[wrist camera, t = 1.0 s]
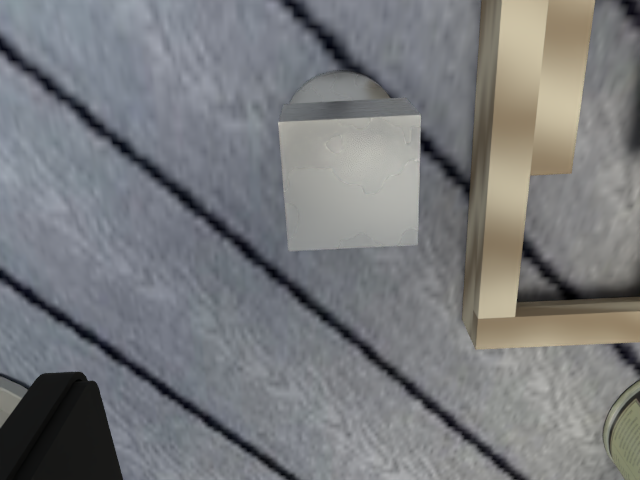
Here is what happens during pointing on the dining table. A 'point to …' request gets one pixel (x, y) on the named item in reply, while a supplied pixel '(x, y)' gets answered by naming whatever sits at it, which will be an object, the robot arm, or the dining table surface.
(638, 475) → the coffee can
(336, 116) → the keyhole peg
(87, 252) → the dining table surface
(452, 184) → the dining table surface
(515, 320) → the keyhole plate
